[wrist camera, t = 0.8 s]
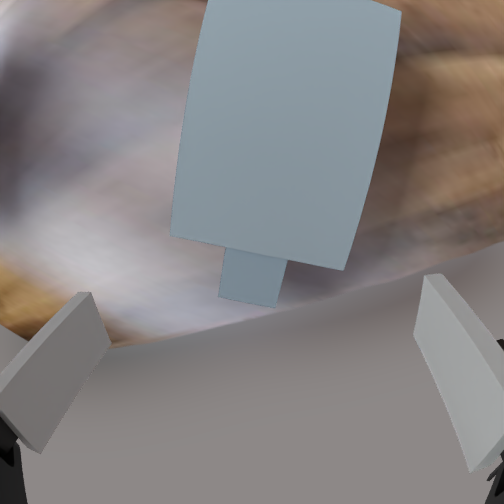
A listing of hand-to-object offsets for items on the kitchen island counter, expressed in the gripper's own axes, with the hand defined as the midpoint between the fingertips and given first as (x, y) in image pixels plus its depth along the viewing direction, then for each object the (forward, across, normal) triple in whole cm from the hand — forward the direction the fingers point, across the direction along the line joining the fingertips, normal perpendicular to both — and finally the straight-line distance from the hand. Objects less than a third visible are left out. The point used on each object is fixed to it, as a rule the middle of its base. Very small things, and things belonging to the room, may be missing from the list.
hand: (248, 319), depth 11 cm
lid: (+16, +1, +5) cm, 17 cm away
